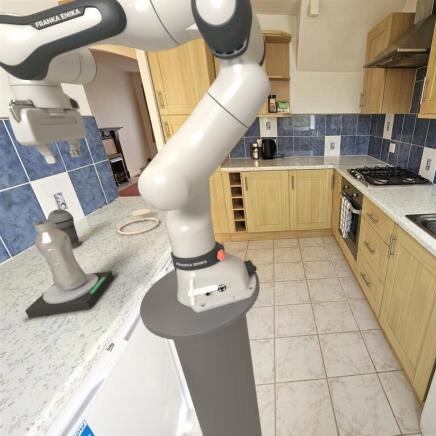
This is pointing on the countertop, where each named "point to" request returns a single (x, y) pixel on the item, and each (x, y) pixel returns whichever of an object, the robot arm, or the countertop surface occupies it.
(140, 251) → the countertop surface
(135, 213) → the hand towel holder
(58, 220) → the beverage cup
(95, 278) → the kitchen scale
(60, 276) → the plastic bottle
